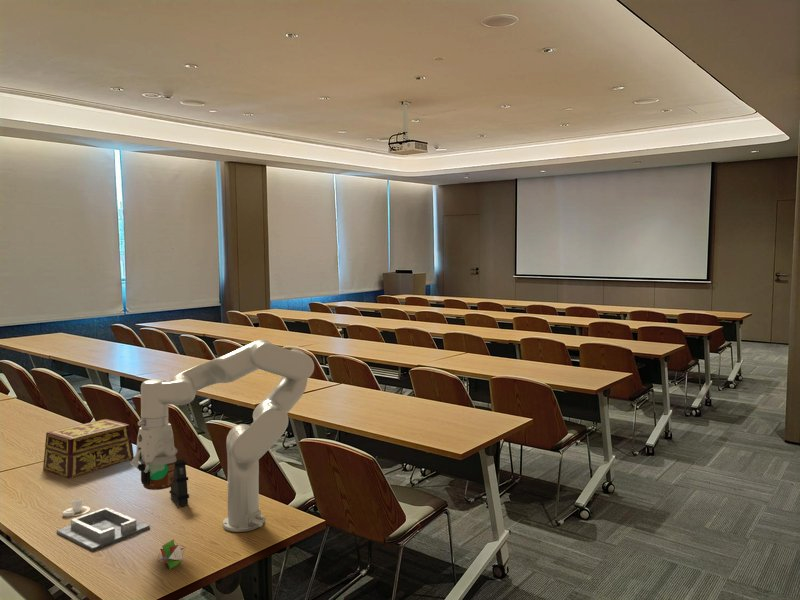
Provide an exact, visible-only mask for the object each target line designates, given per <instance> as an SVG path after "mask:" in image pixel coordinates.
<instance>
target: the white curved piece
mask: <svg viewBox="0 0 800 600" xmlns="http://www.w3.org/2000/svg"><path fill="white" fill-rule="evenodd" d="M84 504H85V499H83V498H74V499H71V501H70V506H71V507H69V508H66V509H65V510H64V511H62V514H61V515H62V516H64V517H79V516H83V515H86V514H88V512H89V513H90V512H91V507H89V506H87V505H84ZM82 509H85V511H84V512H82V513H80V512H81V510H82ZM76 513H77V514H76Z"/></svg>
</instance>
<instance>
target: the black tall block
mask: <svg viewBox="0 0 800 600" xmlns="http://www.w3.org/2000/svg"><path fill="white" fill-rule="evenodd" d="M176 460H177V461H176V462H175V466H174V478H173V486H172V487H170V490H169V492H168V493H169V494H170V497H171V498H172V500H173V502H175V504H176V505H177V507H179V508H181V507H185V506H188V505H189V503H188V502H189V499H190V494H189V493H188V481H189V477H188V476H187V469H186V468H187V467H186V466H187V461H185V458H183V459H176Z"/></svg>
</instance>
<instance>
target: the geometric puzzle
mask: <svg viewBox="0 0 800 600" xmlns="http://www.w3.org/2000/svg"><path fill="white" fill-rule="evenodd" d="M181 547H182V548H181ZM181 547H180V545H179V544H175V539H172V540H170V541H169V542H166V543H165V544H163V545H162V546H161V548H160V549H159V551H160V553H161V557H162V558H160V559H159V557H160V553H158V557H157V560H156V562H158V563H161V564H164V565H165V567H168V570H169V571H171V570H172V569H173V568H174V567H176V566H177V565H179V564H181V562H182V561H183V560H184V558H183V557H184V553H185V552H184V551H185V550H186V547H185V546H184V545H181ZM182 550H183V551H182ZM161 561H164V562H161ZM167 564H168V565H167Z"/></svg>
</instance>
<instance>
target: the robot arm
mask: <svg viewBox="0 0 800 600" xmlns="http://www.w3.org/2000/svg"><path fill="white" fill-rule="evenodd" d="M257 370H261V371H264V372H266V373H270V374H273V375H276V376H281V378H280V381H279V382H278V383H277V384H276V386H274V388H273V389H272V391H270V392H269V394H268V395H267V396H266V397H264V399H263V400H262V401H260V403H258V405H256V407H255V408H254V410H253V412H252V418H253V421H252V423H251V424H250V425H249V424H246V423H245V424H244V423H240V424H237V425H235V426H233V427H232V428H230V430H229V432H228V434H227V436H226V441H225V442H226V444H225V445H226V448H225V449H226V459H227V517H225V518H224V519H223V520H222V527H223V528H224V529H225V530H226V531H228V532H234V533H243V532H244V533H245V532H250V531H253V530H256V529H258V528H260V527H263V524H264V523H265V522H266V521H267V519H266V517H265V516H263V515H262V511H261V509H260V505H259V503H260V502H259V501H260V500H259V499H260V496H259V494H260V491H259V486H260V485H259V483H260V482H259V481H260V479H259V475H260V471H259V469H260V466H259V464H260V463H259V461H260V459H261V458H262V457H263V456H264V455H265V454H266V453H267V452H268V451H269V450H270V449H271V448H272V447H273V445H275V444H276V443H277V441H279V439H280V438H281V437H282V436H283V435H284V433H285V431H286V429H287V428H288V426H289V416H288V414H289V412H290V411H291V410H292V409H293V408H294V406H295V405H296V404H297V403H298V402H299V400H301V398H302V396H303V395H304V393H305V390H306V387H307V385H308V384H307V383H308V379H309V378H310V377H311V376H312V375H313V373H314V371H315V363H314V360H313V359H312V357H311V356H310V355H309V354H307V353H305V352H303V350H300V349H296V348H295V349H294V348H293V349H288V348H285V347H282V346H279V345H277V344H274V343H272V342H271V341H269V340H267V339H257V340H255V341H252V342H249V343H247V344H245V345H243V346H242V347H239V348H237V349H236V350H233V351H231V352H229V353H226V354H224V355H221V356H219V357H217V358H213V359H211V360H208V361H206V362H204V363H200V364H197V365H196V366H193V367H191V368H189V369H186V370H184V371H182V372H180V373H178V374H176V375H174V376H173V377H172V378H171V379H170V380H169V381H166V380H164V379H159V378H155V379H154V378H153V379H148V380H144V381H143V382H142V383H141V385H140V420H139V421H137V426H139V429H138V433H137V439H136V453H135V454H134V455H135V456H134V458H133V459H132V460H130V465H132V466H133V467H135V468H136V469H137V470H138V471H139V472H140V481H141V482H140V483H141V484H142V485H143V484H144V485H147V486H148V485H150V472H148V469H149V465H147V463H152V462H153V460H154V458H160V457H167V456H171V455H174V454H175V456H176V454H178V451H179V450H178V449H177V447H175V442H174V441H175V439H174V432H173V428H172V424H171V423H170V422H169V405H171V406H172V405H173V406H185V405H188V404H190V403H191V402H193V401H194V399H195V397H196V393H197V392H198V391H200V390H203V389H204V388H207V387H209V386H213V385H215V384H229V383H232V382H234V381H237V380H239V379H241V378H242V377H243V378H244V377H245V376H247V375H249V374H251V373H254V372H256V371H257ZM141 457H142V458H141ZM140 459H142V460H143V462H145V467H144V464H142V463H140V462H139V461H141V460H140Z"/></svg>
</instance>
